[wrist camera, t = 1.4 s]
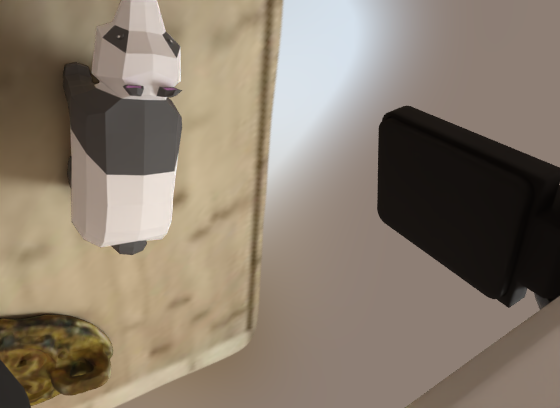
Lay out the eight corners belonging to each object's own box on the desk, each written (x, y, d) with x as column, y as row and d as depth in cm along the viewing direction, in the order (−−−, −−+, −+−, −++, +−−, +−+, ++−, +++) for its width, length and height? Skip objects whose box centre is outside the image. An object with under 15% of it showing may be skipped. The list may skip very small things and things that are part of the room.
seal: (-105, 422, 33) (106, 366, 41) (-112, 486, 30) (118, 411, 38) (-135, 341, 28) (112, 295, 36) (-146, 407, 25) (127, 340, 33)
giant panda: (142, 196, 33) (188, 270, 26) (60, 202, 30) (89, 288, 23) (156, -18, 27) (223, 9, 20) (54, -37, 24) (92, -13, 17)
